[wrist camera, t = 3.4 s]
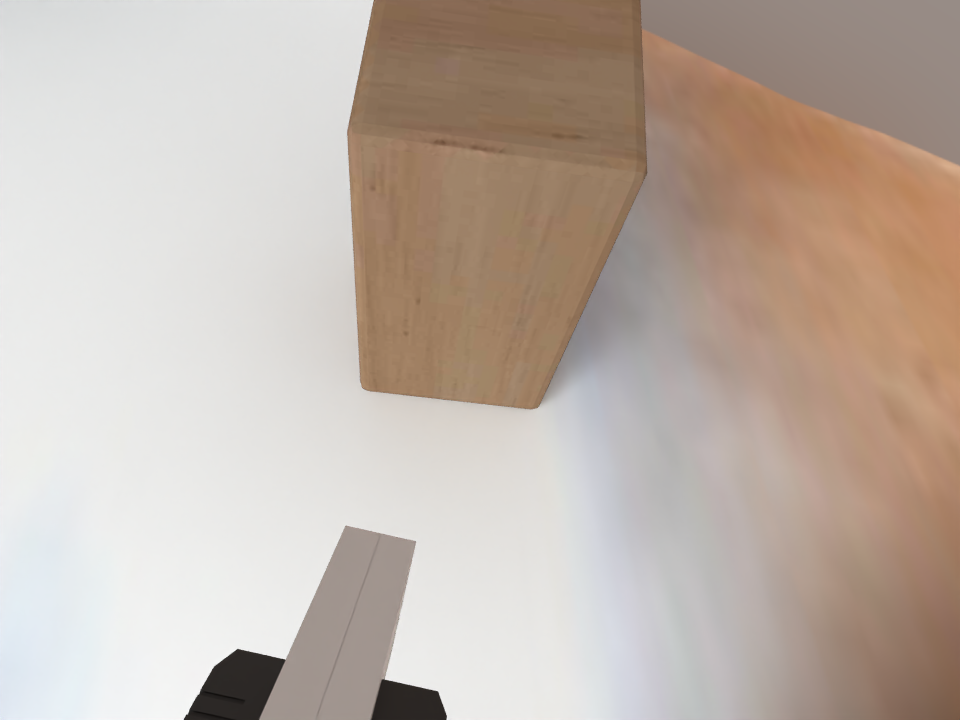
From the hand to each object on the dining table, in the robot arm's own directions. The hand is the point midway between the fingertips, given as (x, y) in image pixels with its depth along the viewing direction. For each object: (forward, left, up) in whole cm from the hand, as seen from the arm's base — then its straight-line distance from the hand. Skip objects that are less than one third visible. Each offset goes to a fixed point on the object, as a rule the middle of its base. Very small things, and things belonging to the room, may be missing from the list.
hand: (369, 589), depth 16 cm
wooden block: (-19, 0, -22) cm, 29 cm away
